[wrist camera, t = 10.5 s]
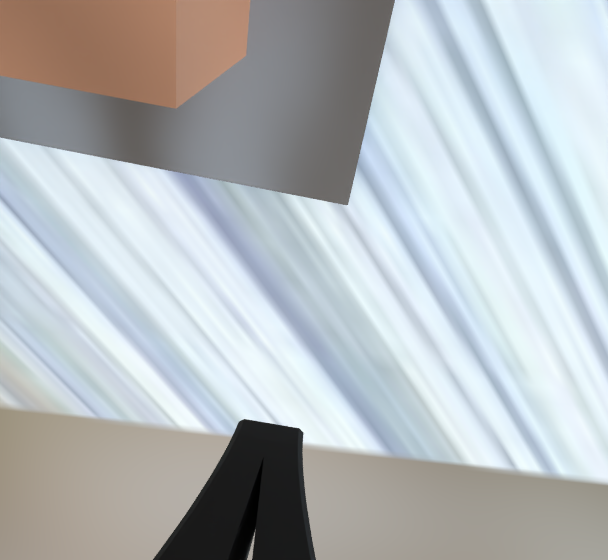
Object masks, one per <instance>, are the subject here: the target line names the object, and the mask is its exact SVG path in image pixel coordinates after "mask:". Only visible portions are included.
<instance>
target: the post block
mask: <svg viewBox="0 0 608 560" xmlns="http://www.w3.org/2000/svg"><path fill="white" fill-rule="evenodd" d="M394 2H395V0H250V11H249V24H248V38H247V51H246V56H245V57H244V58H242V59H241V60H240V61H238V62H237V63H236V64H234V65H233V66H232V67H231V68H229V69H228V70H227V71H225V72H224V73H223V74H221V75H220V76H219V77H217V78H216V79H215V80H213V81H212V82H211V83H209V84H208V85H207V86H205V87H204V88H203V89H201V90H200V91H199V92H198V93H196V94H195V95H194V96H192V97H191V98H190V99H188V100H187V101H186V102H184V103H183V104H182V105H180V106H179V107H178V108H176V109H175V108H170V107H164V106H159V105H154V104H148V103H143V102H138V101H132V100H127V99H122V98H116V97H111V96H106V95H101V94H95V93H90V92H85V91H79V90H74V89H69V88H63V87H58V86H53V85H47V84H42V83H37V82H31V81H26V80H21V79H16V78H10V77H5V76H0V137H1V138H6V139H11V140H16V141H21V142H26V143H31V144H36V145H42V146H47V147H52V148H57V149H62V150H67V151H72V152H77V153H82V154H88V155H93V156H98V157H103V158H108V159H113V160H118V161H123V162H129V163H134V164H139V165H144V166H149V167H154V168H159V169H164V170H169V171H175V172H180V173H185V174H190V175H195V176H200V177H205V178H210V179H216V180H221V181H226V182H231V183H236V184H241V185H246V186H251V187H256V188H262V189H267V190H272V191H277V192H282V193H287V194H292V195H297V196H303V197H308V198H313V199H318V200H323V201H328V202H333V203H338V204H343V205H348V202H349V197H350V193H351V189H352V184H353V180H354V176H355V171H356V167H357V163H358V158H359V154H360V150H361V145H362V141H363V137H364V132H365V128H366V123H367V119H368V115H369V110H370V106H371V102H372V97H373V93H374V89H375V84H376V80H377V76H378V71H379V67H380V63H381V58H382V54H383V50H384V45H385V41H386V37H387V32H388V28H389V23H390V19H391V15H392V10H393V6H394Z"/></svg>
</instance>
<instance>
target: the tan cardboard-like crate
mask: <svg viewBox="0 0 608 560" xmlns="http://www.w3.org/2000/svg"><path fill="white" fill-rule="evenodd" d="M249 11H250V0H0V76H5V77H10V78H16V79H21V80H26V81H31V82H37V83H42V84H47V85H53V86H58V87H63V88H69V89H74V90H79V91H85V92H90V93H95V94H101V95H106V96H111V97H116V98H122V99H127V100H132V101H138V102H143V103H148V104H154V105H159V106H164V107H170V108H175V109H176V108H178V107H179V106H180V105H182V104H183V103H184V102H186V101H187V100H188V99H190V98H191V97H192V96H194V95H195V94H196V93H198V92H199V91H200V90H201V89H203V88H204V87H205V86H207V85H208V84H209V83H211V82H212V81H213V80H215V79H216V78H217V77H219V76H220V75H221V74H223V73H224V72H225V71H227V70H228V69H229V68H231V67H232V66H233V65H234V64H236V63H237V62H238V61H240V60H241V59H242V58H244V57H245V56H246V51H247V38H248V24H249Z"/></svg>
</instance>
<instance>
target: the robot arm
mask: <svg viewBox="0 0 608 560" xmlns="http://www.w3.org/2000/svg"><path fill="white" fill-rule="evenodd" d="M302 447H303V432H302V431H301V430H300V429H299V428H293V427H288V426H282V425H276V424H270V423H264V422H258V421H252V420H246V419H244V420H242V421H240V422H239V423H238V425H237V428H236V430H235V432H234V434H233V436H232V438H231V441H230V443H229V445H228V447H227V448H226V450H225V452H224V454H223V456H222V457H221V459H220V461H219V463H218V464H217V466H216V468H215V470H214V471H213V473H212V475H211V476H210V478H209V480H208V481H207V483H206V484H205V486H204V487H203V489H202V490H201V492H200V494H199V495H198V497H197V498H196V500H195V501H194V503H193V504H192V506H191V507H190V509H189V510H188V512H187V513H186V515H185V516H184V518H183V519H182V520H181V522H180V523H179V525H178V526H177V527H176V529H175V530H174V532H173V533H172V534H171V536H170V537H169V538H168V540H167V541H166V543H165V544H164V545H163V547H162V548H161V550H160V551H159V552H158V554H157V555H156V556H155V558H154V559H153V560H247V558H248V554H249V551H250V547H251V543H252V539H253V536H254V532H255V540H254V549H253V558H252V560H316V558H315V553H314V548H313V542H312V537H311V530H310V524H309V518H308V511H307V504H306V496H305V487H304V476H303V458H302ZM255 529H256V531H255Z"/></svg>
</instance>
